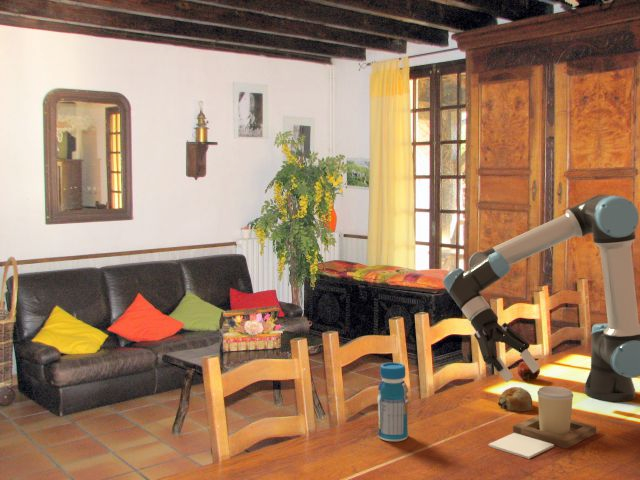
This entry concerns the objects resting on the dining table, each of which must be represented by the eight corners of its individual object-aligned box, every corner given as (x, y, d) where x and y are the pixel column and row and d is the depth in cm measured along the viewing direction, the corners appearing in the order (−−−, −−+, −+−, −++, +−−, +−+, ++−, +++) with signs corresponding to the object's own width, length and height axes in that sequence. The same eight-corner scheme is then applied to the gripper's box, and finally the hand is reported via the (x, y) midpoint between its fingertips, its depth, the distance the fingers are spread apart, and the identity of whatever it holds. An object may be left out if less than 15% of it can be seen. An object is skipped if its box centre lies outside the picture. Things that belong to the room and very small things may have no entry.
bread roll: (527, 424, 220) (539, 401, 219) (495, 408, 222) (507, 386, 220) (525, 414, 230) (536, 392, 229) (494, 398, 231) (506, 376, 230)
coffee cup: (572, 429, 206) (573, 387, 204) (572, 441, 197) (573, 397, 196) (537, 425, 209) (538, 384, 207) (536, 437, 200) (536, 394, 199)
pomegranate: (540, 389, 251) (542, 366, 257) (537, 376, 246) (538, 352, 253) (518, 389, 254) (520, 366, 261) (514, 376, 249) (516, 353, 256)
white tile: (514, 434, 202) (514, 432, 202) (553, 446, 193) (553, 444, 193) (488, 446, 194) (488, 443, 194) (528, 459, 185) (528, 456, 185)
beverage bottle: (388, 444, 196) (388, 371, 194) (371, 434, 203) (371, 363, 201) (414, 439, 199) (414, 366, 198) (397, 429, 207) (397, 359, 205)
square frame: (544, 419, 214) (544, 412, 214) (596, 433, 202) (596, 426, 202) (513, 433, 203) (513, 426, 203) (566, 448, 191) (566, 441, 191)
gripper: (497, 316, 228) (539, 373, 219) (446, 328, 212) (489, 391, 202) (512, 302, 224) (555, 359, 214) (461, 313, 207) (506, 376, 198)
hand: (523, 375), depth 208 cm, fingers open, 13 cm apart
